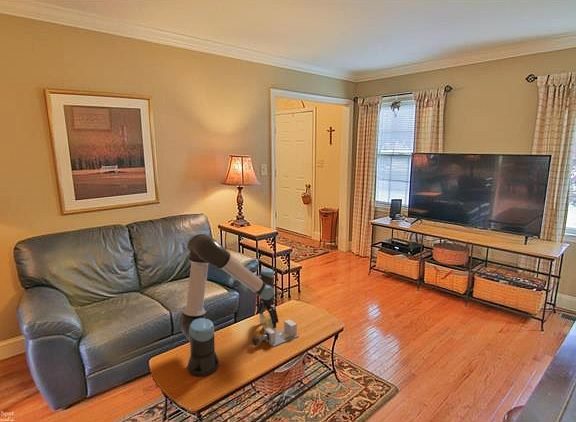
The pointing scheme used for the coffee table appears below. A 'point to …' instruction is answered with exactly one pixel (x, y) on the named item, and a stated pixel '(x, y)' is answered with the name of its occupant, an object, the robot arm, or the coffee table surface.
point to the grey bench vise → (282, 333)
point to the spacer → (267, 321)
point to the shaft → (260, 339)
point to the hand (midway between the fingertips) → (267, 327)
